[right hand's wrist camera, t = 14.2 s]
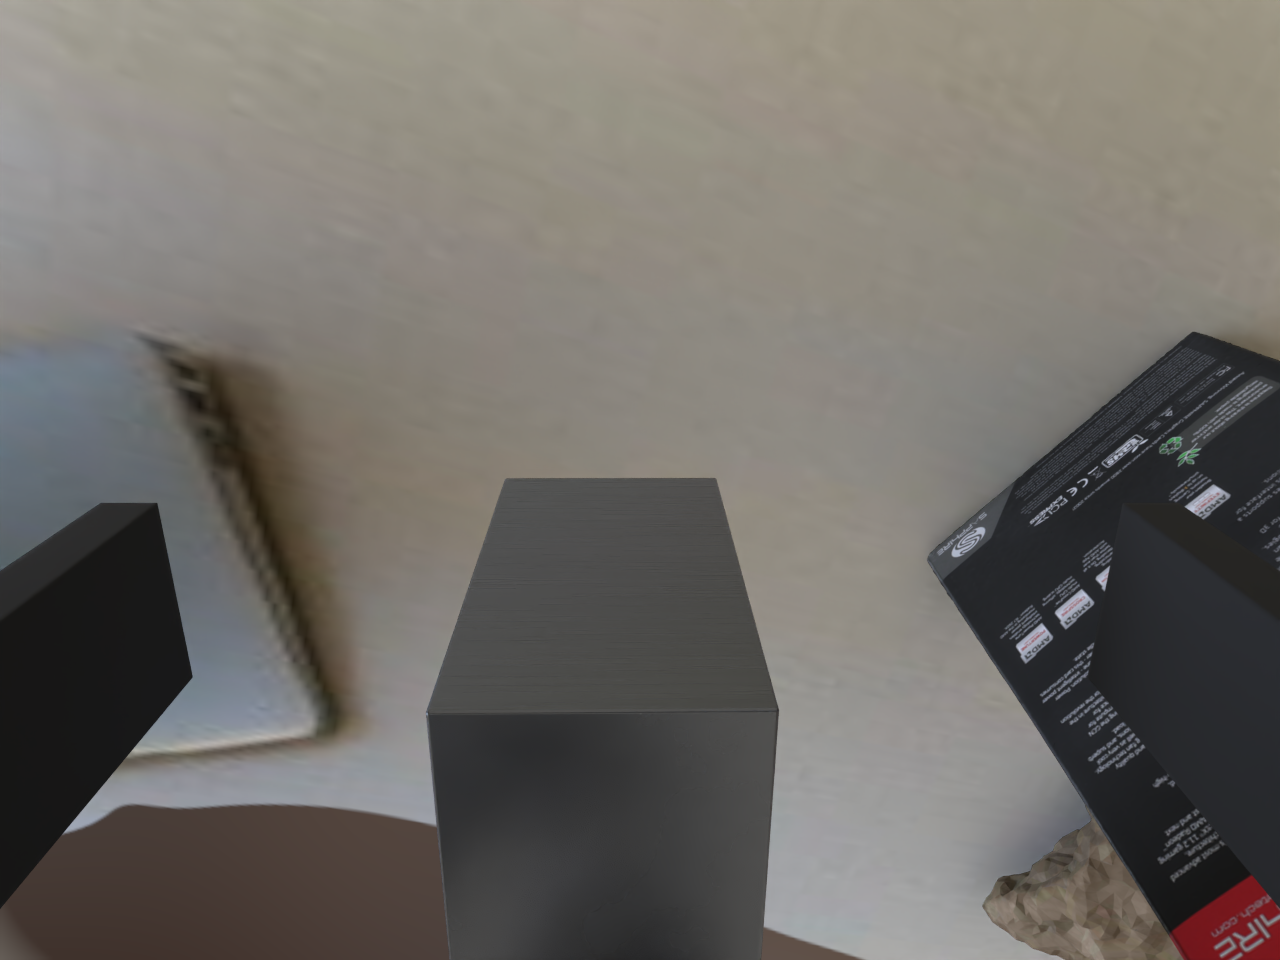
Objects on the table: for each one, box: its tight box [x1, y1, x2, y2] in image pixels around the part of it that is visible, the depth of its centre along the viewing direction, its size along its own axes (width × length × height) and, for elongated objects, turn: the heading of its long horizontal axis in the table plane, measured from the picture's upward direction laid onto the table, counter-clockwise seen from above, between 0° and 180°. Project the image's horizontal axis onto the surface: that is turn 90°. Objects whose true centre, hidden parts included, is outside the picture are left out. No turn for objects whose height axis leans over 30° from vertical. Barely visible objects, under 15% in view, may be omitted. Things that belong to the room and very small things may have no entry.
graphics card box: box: [927, 332, 1280, 960], centre depth 33 cm, size 17×7×27 cm, turn 137°
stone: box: [983, 805, 1184, 960], centre depth 51 cm, size 21×15×6 cm
